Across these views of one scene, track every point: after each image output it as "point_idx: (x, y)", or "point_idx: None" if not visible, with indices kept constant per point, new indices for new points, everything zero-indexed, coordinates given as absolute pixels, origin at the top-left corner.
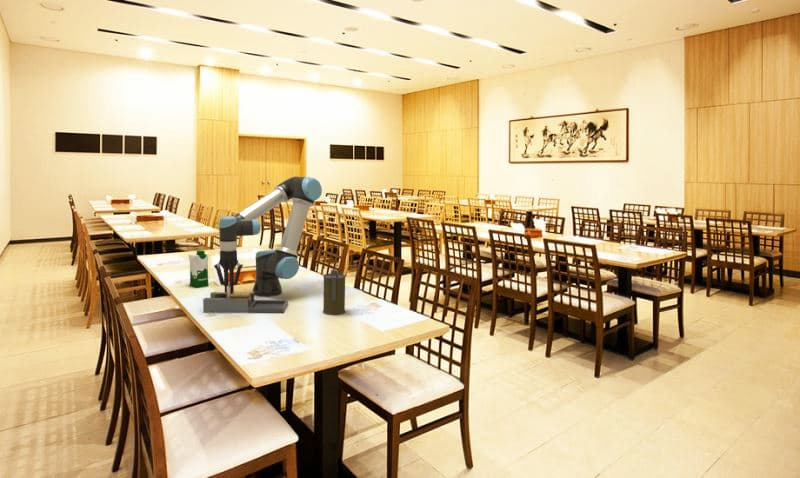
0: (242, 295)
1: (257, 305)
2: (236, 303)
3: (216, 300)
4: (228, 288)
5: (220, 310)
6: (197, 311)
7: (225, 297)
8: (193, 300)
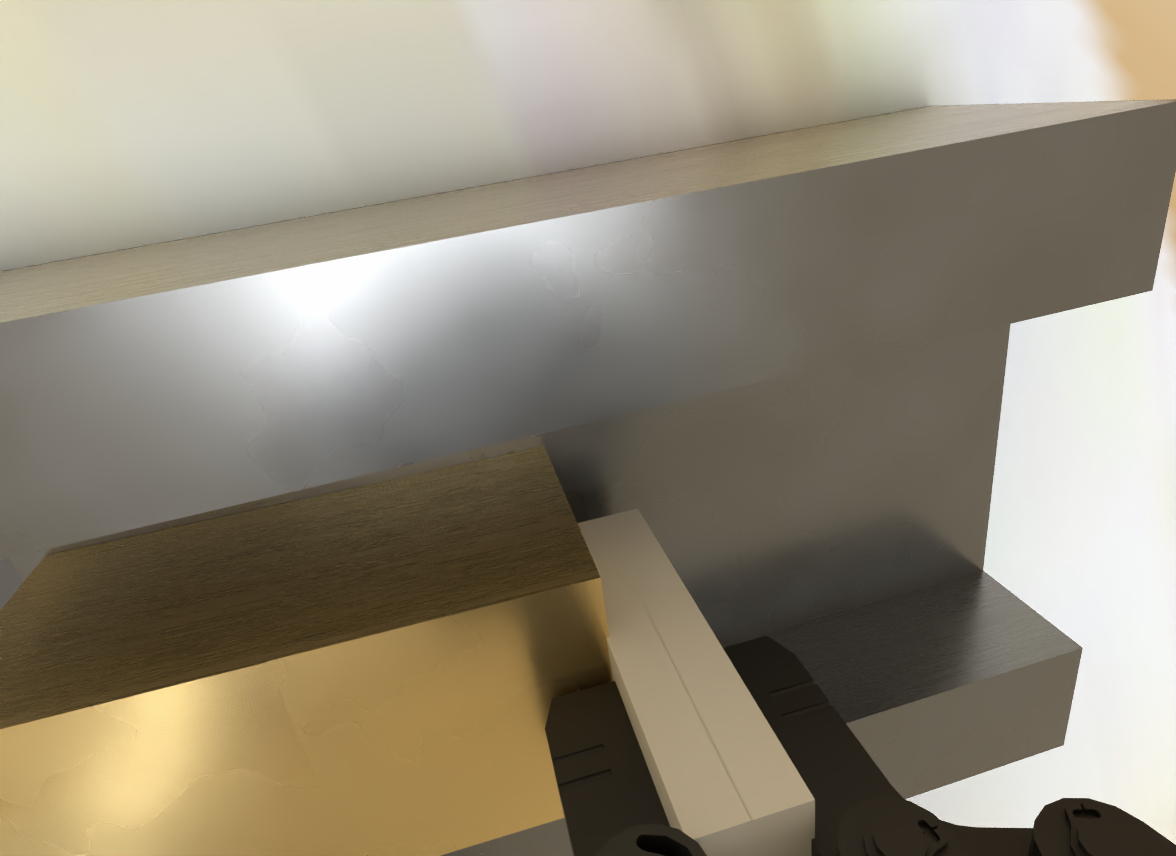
0: (158, 661)
1: None
2: (210, 265)
3: (824, 164)
4: (711, 753)
5: (624, 163)
6: None
7: None
8: (1160, 665)
